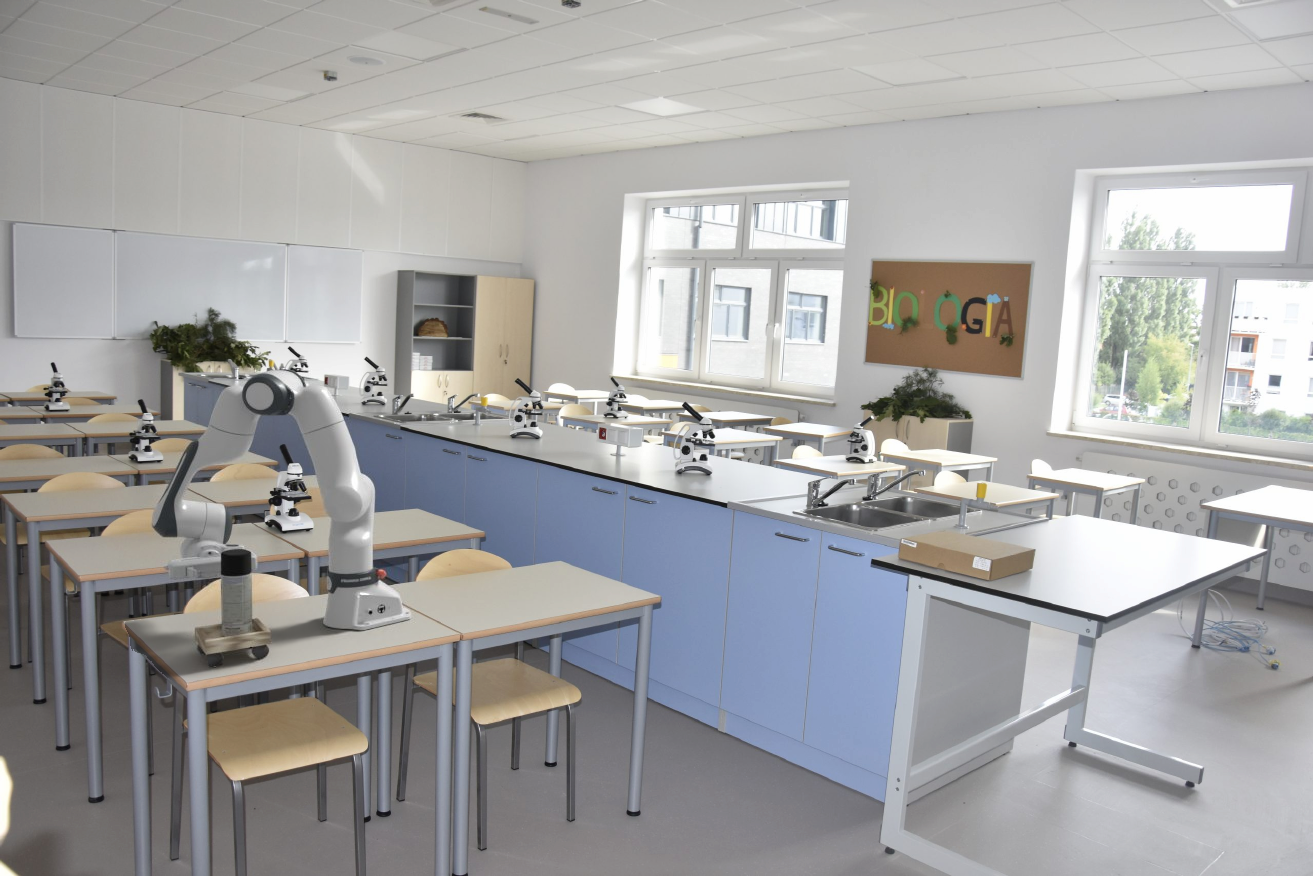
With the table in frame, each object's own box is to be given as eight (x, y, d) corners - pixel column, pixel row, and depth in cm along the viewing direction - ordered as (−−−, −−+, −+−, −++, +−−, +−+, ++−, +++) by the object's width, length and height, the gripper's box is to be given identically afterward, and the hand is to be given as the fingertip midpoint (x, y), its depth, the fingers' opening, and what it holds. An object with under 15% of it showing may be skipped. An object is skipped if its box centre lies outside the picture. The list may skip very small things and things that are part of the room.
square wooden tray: (258, 643, 232) (257, 618, 231) (271, 658, 223) (270, 631, 222) (195, 654, 224) (194, 627, 223) (206, 669, 214) (205, 641, 214)
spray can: (244, 628, 228) (242, 547, 226) (258, 634, 224) (256, 551, 221) (216, 634, 223) (214, 551, 221) (230, 641, 219) (228, 556, 216)
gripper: (161, 552, 235) (172, 564, 224) (249, 543, 248) (262, 554, 236) (162, 577, 236) (172, 590, 225) (249, 567, 248) (263, 579, 237)
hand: (219, 572), depth 231 cm, fingers open, 8 cm apart
